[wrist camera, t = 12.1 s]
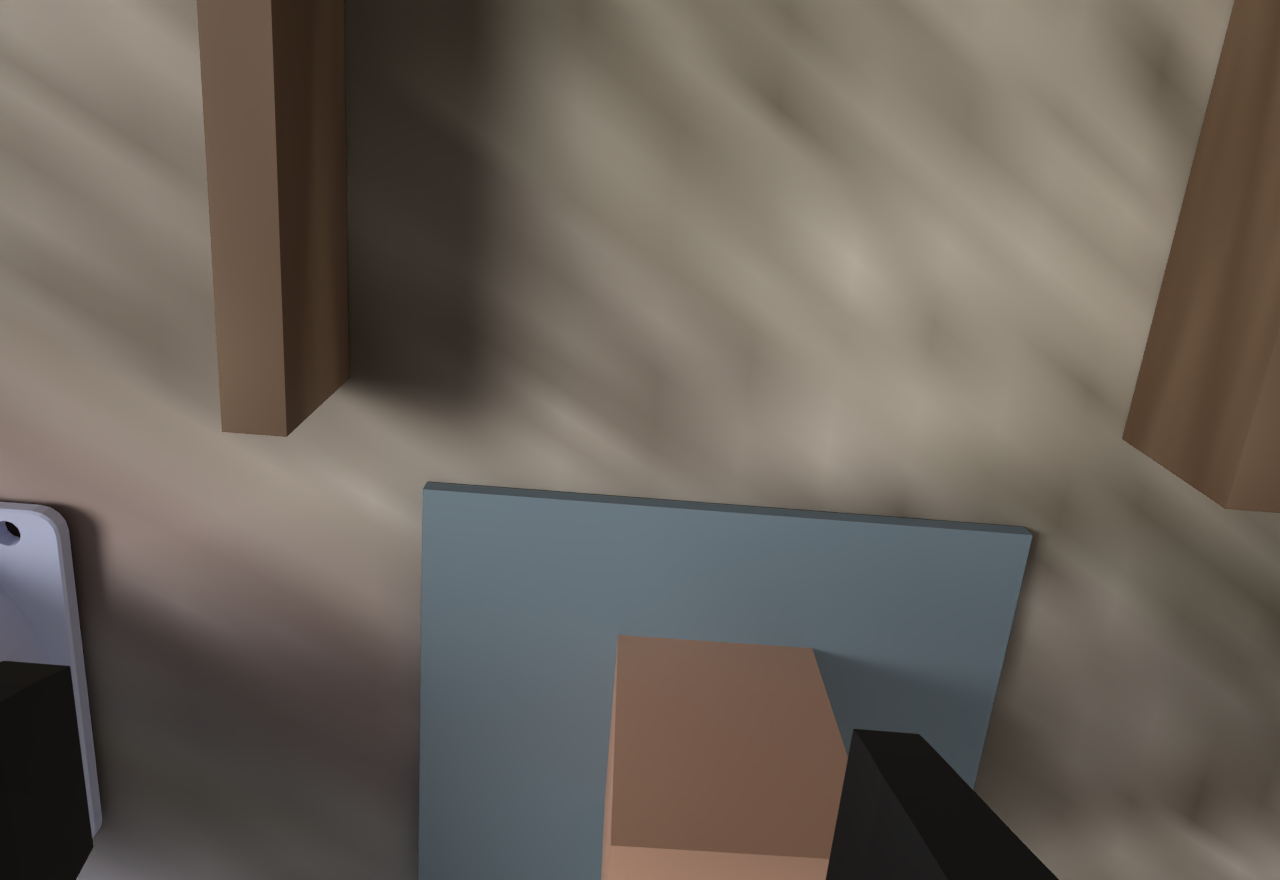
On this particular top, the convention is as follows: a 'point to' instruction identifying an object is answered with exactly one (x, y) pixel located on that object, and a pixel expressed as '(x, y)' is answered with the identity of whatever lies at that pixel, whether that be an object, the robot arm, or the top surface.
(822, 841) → the terracotta block
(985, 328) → the top surface
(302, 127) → the walnut crate
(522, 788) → the slate mat
